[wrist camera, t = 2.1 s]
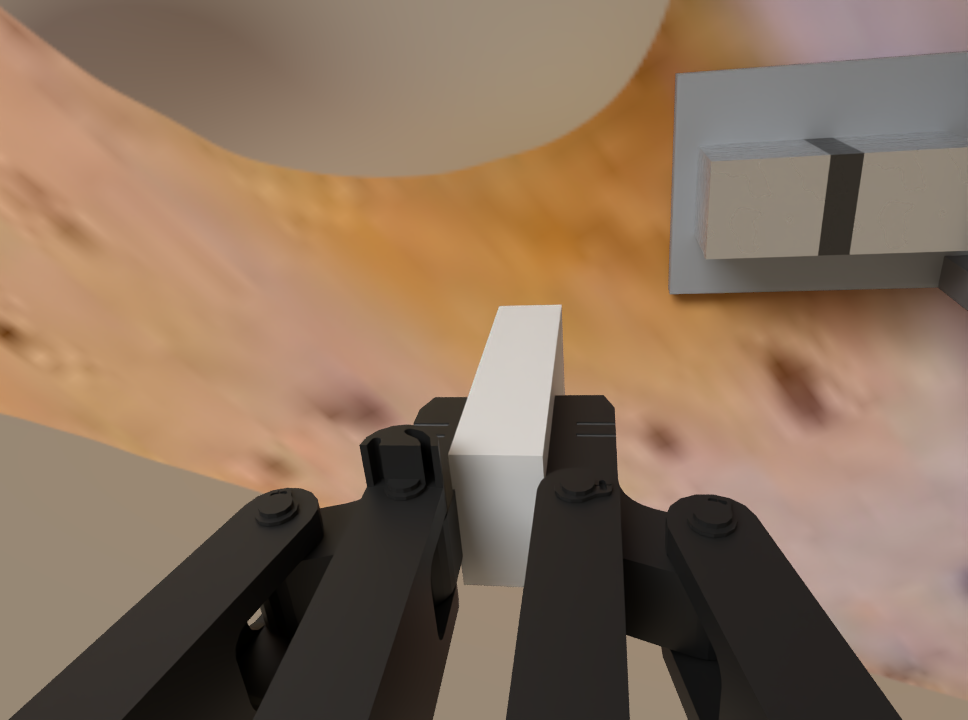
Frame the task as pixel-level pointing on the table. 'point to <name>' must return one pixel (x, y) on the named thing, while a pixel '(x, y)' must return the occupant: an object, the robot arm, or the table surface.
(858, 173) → the grey block
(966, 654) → the table surface
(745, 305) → the table surface
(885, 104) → the grey angular piece
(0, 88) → the table surface
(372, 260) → the table surface
